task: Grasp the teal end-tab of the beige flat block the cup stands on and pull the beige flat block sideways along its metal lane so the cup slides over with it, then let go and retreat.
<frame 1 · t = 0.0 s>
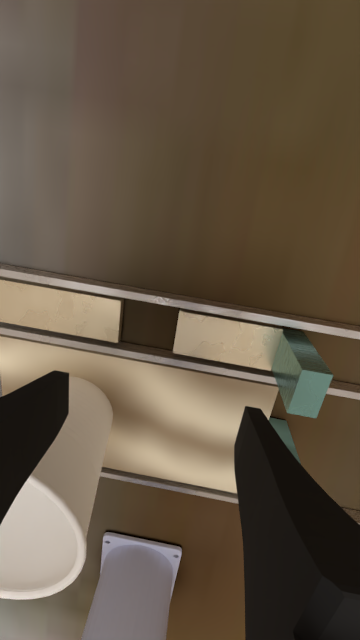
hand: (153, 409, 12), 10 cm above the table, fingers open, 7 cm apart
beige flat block: (132, 441, 22), point 3 cm above the table, slide at 0.9 cm, touching cup
lane rails: (162, 418, 25), on the table
cup: (80, 402, 25), resting on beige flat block
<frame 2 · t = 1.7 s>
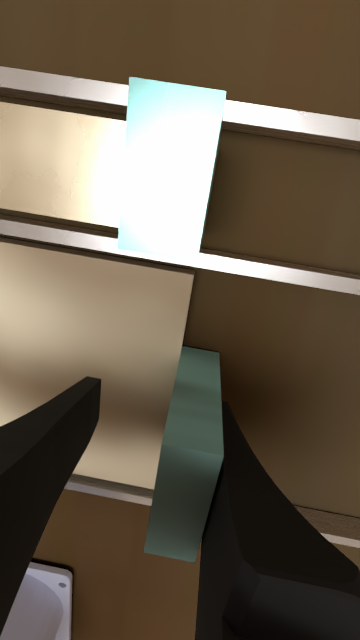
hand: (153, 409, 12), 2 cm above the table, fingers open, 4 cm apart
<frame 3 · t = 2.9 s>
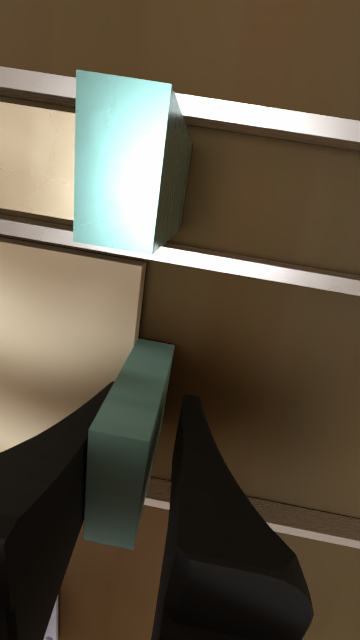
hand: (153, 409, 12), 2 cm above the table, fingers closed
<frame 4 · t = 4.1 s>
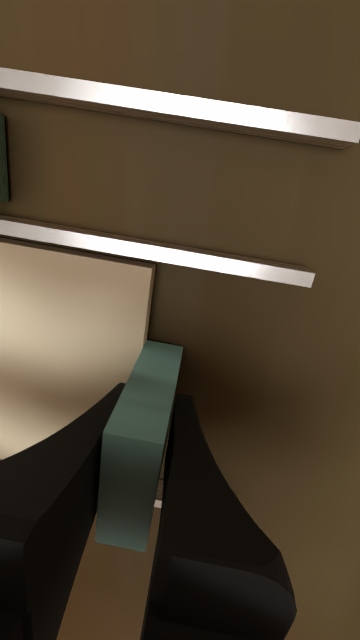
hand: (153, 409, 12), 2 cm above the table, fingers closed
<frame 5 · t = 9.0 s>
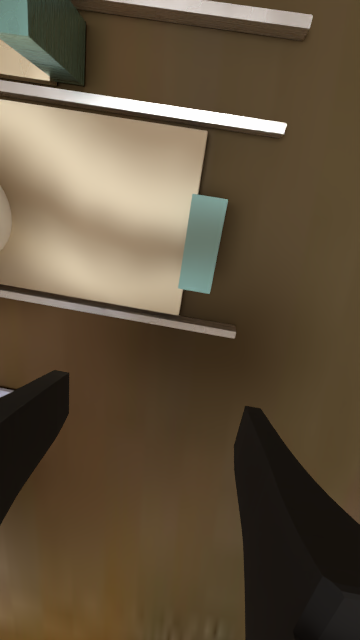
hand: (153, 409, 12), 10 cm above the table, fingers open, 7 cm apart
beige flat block: (20, 209, 17), point 3 cm above the table, slide at 9.0 cm, touching cup
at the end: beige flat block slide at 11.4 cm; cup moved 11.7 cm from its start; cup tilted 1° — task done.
